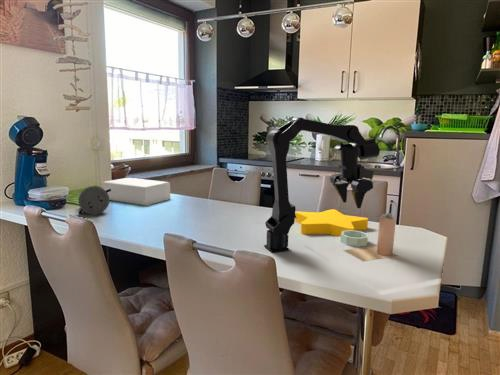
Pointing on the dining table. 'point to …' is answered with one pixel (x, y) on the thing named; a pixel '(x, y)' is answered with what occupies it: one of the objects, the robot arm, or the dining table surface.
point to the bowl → (354, 238)
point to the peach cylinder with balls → (386, 235)
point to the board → (366, 253)
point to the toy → (93, 200)
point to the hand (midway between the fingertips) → (351, 205)
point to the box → (137, 190)
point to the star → (329, 222)
